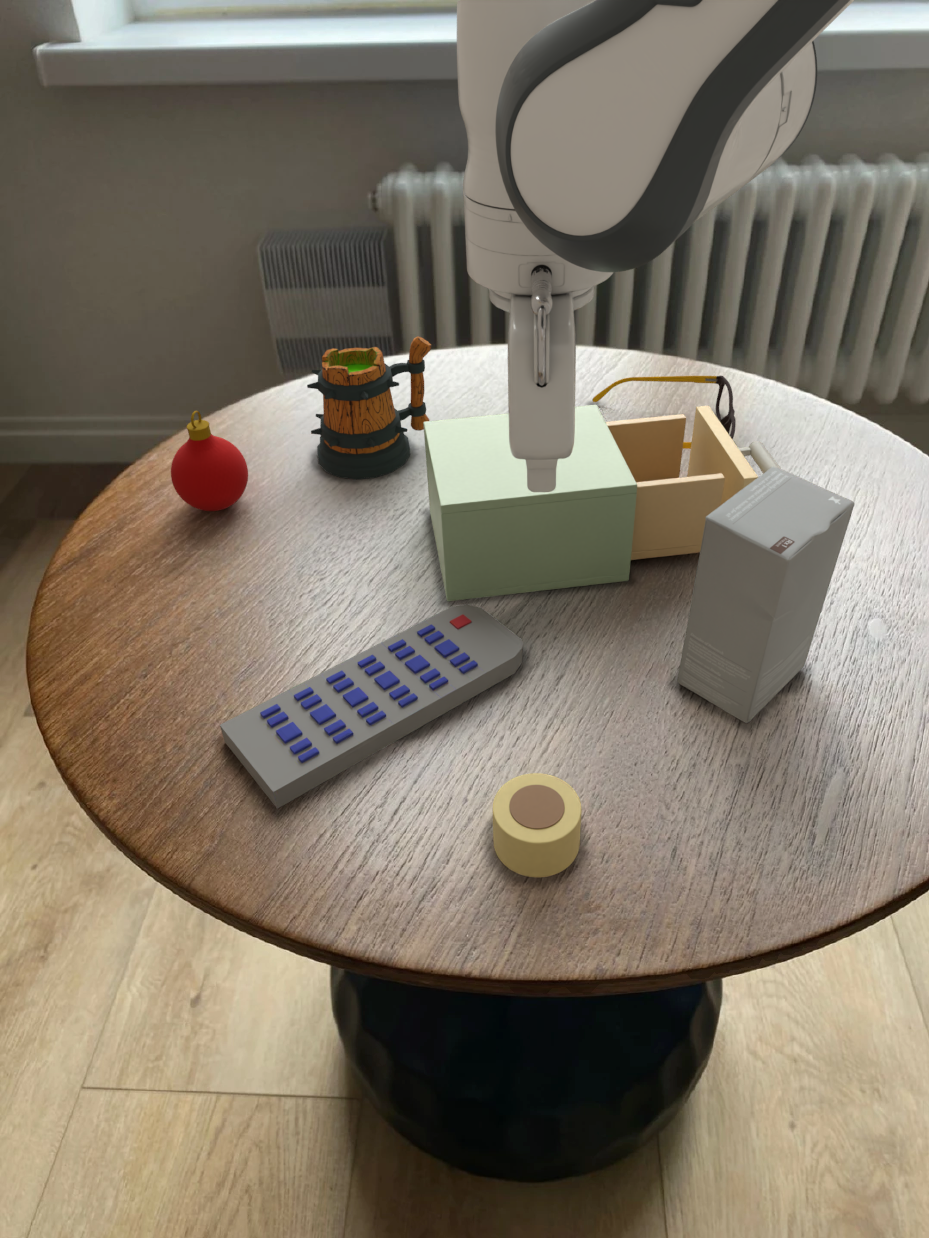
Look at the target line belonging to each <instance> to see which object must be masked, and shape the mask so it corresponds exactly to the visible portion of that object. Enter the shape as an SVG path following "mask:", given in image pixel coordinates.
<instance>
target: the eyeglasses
mask: <svg viewBox="0 0 929 1238" xmlns="http://www.w3.org/2000/svg"><path fill="white" fill-rule="evenodd" d="M628 382H629V383H630V382H659V383H661V382H663V383H664V382H665V383H694V384H716V385H718V391H717V397H716V402H715V415H716V417H717V418H718V420H719V421H720V422H721V424H722V425H723V427H724V428H725V430H726V431H727V433H728V434H729V435H730V437H731V438H732V440H733V439H734V437H735V432H736V425H737V423H736V420H737V419H736V417H735V409H734V393H733V389H732V386H731V384H730V382H729V381H728V379H727V378H726V376H725V377H724V376H723V375H667V376H665V375H664V376H662V375H661V376H631V377H624V378H621V379H618V380H615V381H614V382H613V383H611V384H610V385H608V386H607V387H606V388H604V389H602V390H601V391H600V392H599V393H597V394H595V396H593V398H592V402H593V403H597V402H599V401H600V400H601V399H602V398H604V397H605V396H606V395H607V394H608V393H610V391H611V390H612V389H613V388H615V387H617V386H619V385H621V384H625V383H628ZM725 386H726V388H727V393H728V412H727V414H726V415H725V416H724V417H722V416H721V411H720V403H721V400H722V395H723V391H724V388H725ZM691 443H692V441H684V442H683V449H685V450H691Z"/></svg>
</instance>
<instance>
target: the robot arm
mask: <svg viewBox="0 0 929 1238" xmlns="http://www.w3.org/2000/svg"><path fill="white" fill-rule="evenodd" d="M854 1H855V0H456V73H457V74H456V75H457V94H458V97H457V98H458V105H459V106H458V107H459V111H460V114H461V118H462V120H463V124H464V127H465V132H466V137H467V159H466V160H467V161H466V165H465V170H464V173H463V180H462V194H463V195H462V196H463V210H464V211H463V212H464V213H463V214H464V234H465V237H464V238H465V252H466V253H465V255H466V271H467V274H468V277H470V278H471V280H472V281H474V282H475V283H476V284H478V285H479V286H481V287H484V288H486V289H488V297H489V300H490V303H492V304H493V306H495V307H496V308H498V309H500V310H503V311H504V312H507V313H508V325H507V326H508V327H507V328H508V329H507V402H508V403H507V405H508V406H507V407H508V409H507V410H508V411H507V413H509V444H510V450H511V453H512V455H513V456H514V457H515V458H517V459H525V460H526V466H527V487H528V489H529V490H530V491H532V492H551V491H553V490H554V489H555V487H556V467H557V461H558V459H564V458H567V457H569V456H570V455H571V453H572V451H573V446H574V437H575V407H576V381H577V380H576V377H577V376H576V374H577V373H576V372H577V342H576V340H577V338H576V337H577V335H576V323H575V320H576V319H575V311H577V310H579V309H581V308H583V307H585V306H586V305H588V304H589V303H590V302H591V301H592V300H593V299H594V296H595V286H598V285H599V284H601V283H603V282H605V281H607V280H608V279H609V278H611V276H613V274H614V273H620V272H626V271H627V272H628V271H631V270H634V269H636V268H639V267H642V266H644V265H646V264H648V263H650V262H652V261H653V260H655V259H656V258H658V257H659V256H661V254H663V253H664V252H665V251H666V250H667V249H669V247H670V246H671V245H672V244H674V243H675V242H676V241H677V240H678V239H679V238H680V237H681V236H682V235H683V234H684V233H685V232H686V231H688V230H689V229H690V228H691V227H692V225H693V224H694V223H695V222H697V221H698V220H700V219H701V218H702V217H705V216H706V215H707V214H708V213H710V212H711V211H712V210H713V209H715V208H716V207H718V206H719V205H720V204H722V203H724V202H725V201H726V200H727V199H729V198H730V197H732V196H733V195H734V194H736V193H737V192H738V191H739V190H741V189H742V188H743V187H745V186H746V185H747V184H749V183H750V182H752V181H753V180H754V179H755V178H757V177H758V176H759V175H761V174H762V173H764V172H765V171H766V170H767V169H768V168H770V167H771V166H772V165H773V164H774V163H775V162H776V161H777V160H778V159H779V158H781V157H782V156H783V155H785V153H786V152H787V151H788V150H789V149H790V148H791V146H793V144H794V143H795V142H796V140H797V139H798V137H799V136H800V134H801V132H802V130H804V127H805V125H806V123H807V121H808V118H809V116H810V113H811V111H812V107H813V104H814V100H815V96H816V91H817V84H818V83H817V82H818V58H817V50H816V45H815V40H816V39H817V38H818V37H819V36H820V35H821V34H822V33H823V32H824V31H825V30H826V29H827V28H828V27H830V25H831V24H832V23H833V22H834V21H835V20H836V19H837V18H838V17H839V16H840V15H841V14H842V13H843V12H844V11H845V10H846V9H847V8H848V7H849V6H850V5H851V4H852V3H854Z"/></svg>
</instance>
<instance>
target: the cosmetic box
mask: <svg viewBox="0 0 929 1238" xmlns="http://www.w3.org/2000/svg"><path fill="white" fill-rule="evenodd" d="M854 507H855V501H854V500H851V499H849V498H847V497H844V496H842V495H840V494H838V493H836V492H833V491H831V490H828V489H827V488H824V487H822V486H820V485H817V484H815V483H813V482H811V481H809V480H807V479H804V478H803V477H800V476H798V475H797V474H794V473H792V472H789V471H787V470H785V469H782V468H781V469H779V468H776V467H771V468H770V469H769V470H768V471H766V472H765V473H764V474H763V473H762V474H761V475H759V476H758V478H757V479H755V480H754V481H753V482H751V483H750V484H749V485H747V486H746V487H744V488H743V489H742V490H740V491H739V492H738V493H736V494H735V495H734V496H733V497H731V498H730V499H729V500H727V501H726V502H725V503H723V504H722V505H721V506H719V507H718V508H717V509H715V510H714V511H713V512H711V513H710V514H709V515H708V516H706V517H705V518H706V521H705V527H704V532H703V538H702V544H701V550H700V552H699V557H698V562H697V567H696V572H695V579H694V585H693V590H692V596H691V600H690V605H689V611H688V617H687V624H686V629H685V633H684V634H685V635H684V640H683V645H682V652H681V658H680V662H679V666H678V667H679V668H678V674H677V681H676V682H677V684H679V685H681V686H682V687H684V688H686V689H687V690H689V691H691V692H693V693H694V694H696V695H698V696H699V697H701V698H703V699H705V700H706V701H707V702H709V703H711V704H713V705H714V706H716V707H717V708H719V709H721V710H723V711H724V712H725V713H728V714H729V715H730V716H733V717H734V718H736V719H738V720H739V721H741V722H743V723H744V724H745V723H746V724H747V723H749V722H751V720H752V719H753V718H755V717H756V716H757V714H759V712H761V711H762V709H764V707H766V705H768V703H770V702H771V701H772V699H774V697H776V695H778V693H779V692H781V690H783V689H784V687H786V686H787V684H788V683H790V682H791V680H793V678H795V676H796V675H798V673H799V672H800V671H801V670H802V669H803V668H804V667H805V666H806V662H807V659H808V657H809V653H810V649H811V646H812V642H813V639H814V635H815V632H816V629H817V626H818V623H819V620H820V617H821V613H822V611H823V607H824V603H825V602H826V601H825V600H826V598H827V594H828V592H829V591H828V590H829V587H830V585H831V581H832V578H833V575H834V572H835V568H836V565H837V563H838V560H839V556H840V552H841V549H842V546H843V543H844V540H845V537H846V534H847V530H848V528H849V523H850V521H851V518H852V514H853V511H854Z"/></svg>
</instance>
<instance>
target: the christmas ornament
mask: <svg viewBox="0 0 929 1238" xmlns="http://www.w3.org/2000/svg"><path fill="white" fill-rule="evenodd" d="M196 413H197V416H198V419H195V415H196ZM186 430H187V434H188V439H187V441H186V442H184V443H183V444H181V446H180V447H179V448H178V449H177V451H176V453H175V454H174V456H173V457H172V461H171V467H170V478H171V483H172V486H173V489H174V490H175V492H176V494H177V495H178V496H179V498H180V499H181V500H182V501H184V502H185V503H186V504H187V505H188V506H190V507H193V508H194V509H197V510H200V511H204V512H218V511H223V510H225V509H227V508H230V507H232V506H233V505H234V504H236V502H237V501H239V500H240V498H241V497H242V496H243V494H244V493H245V490H246V489H247V486H248V481H249V469H248V464H247V460H246V458H245V457H244V454H243V453H242V451H240V449H239V448H238V447H237V446H236V445H235V444H233V443H232V442H231V441H229V440H227V439H226V438H223V437H220V436H216V435H214V434H212V430H211V427H210V422H209V421H208V420H205V419H202V414H201V412H200V411H198V410H194V411H193V412H192V413H191V415H190V422H189V423H187V425H186Z"/></svg>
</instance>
